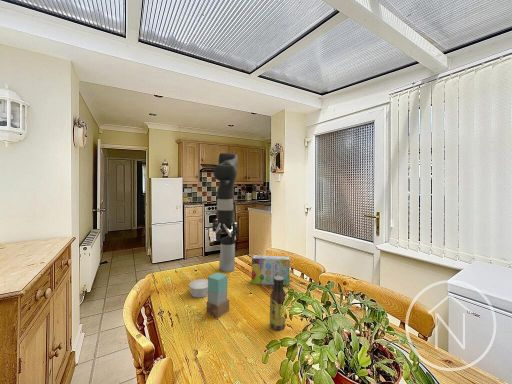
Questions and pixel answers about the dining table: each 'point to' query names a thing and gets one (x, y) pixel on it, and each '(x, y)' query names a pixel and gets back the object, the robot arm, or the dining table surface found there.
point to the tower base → (218, 308)
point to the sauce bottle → (277, 304)
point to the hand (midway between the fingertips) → (224, 242)
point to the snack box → (270, 269)
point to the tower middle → (217, 297)
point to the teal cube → (217, 282)
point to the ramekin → (199, 288)
